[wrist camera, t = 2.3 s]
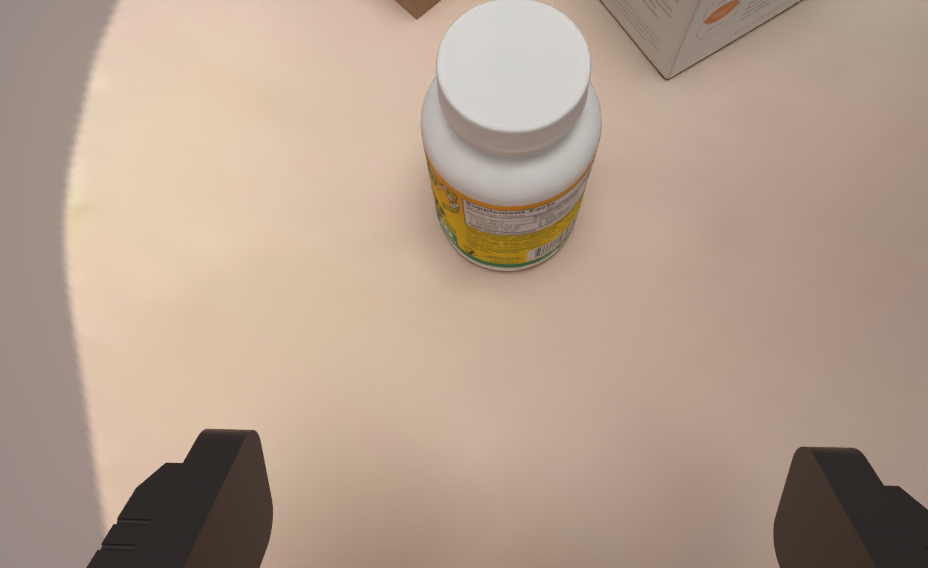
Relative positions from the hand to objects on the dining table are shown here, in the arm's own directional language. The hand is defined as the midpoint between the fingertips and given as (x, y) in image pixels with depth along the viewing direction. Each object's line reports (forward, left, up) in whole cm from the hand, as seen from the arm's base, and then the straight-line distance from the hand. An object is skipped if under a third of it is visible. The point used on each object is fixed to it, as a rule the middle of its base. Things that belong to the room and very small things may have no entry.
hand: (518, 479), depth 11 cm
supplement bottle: (-5, -9, -14) cm, 18 cm away
